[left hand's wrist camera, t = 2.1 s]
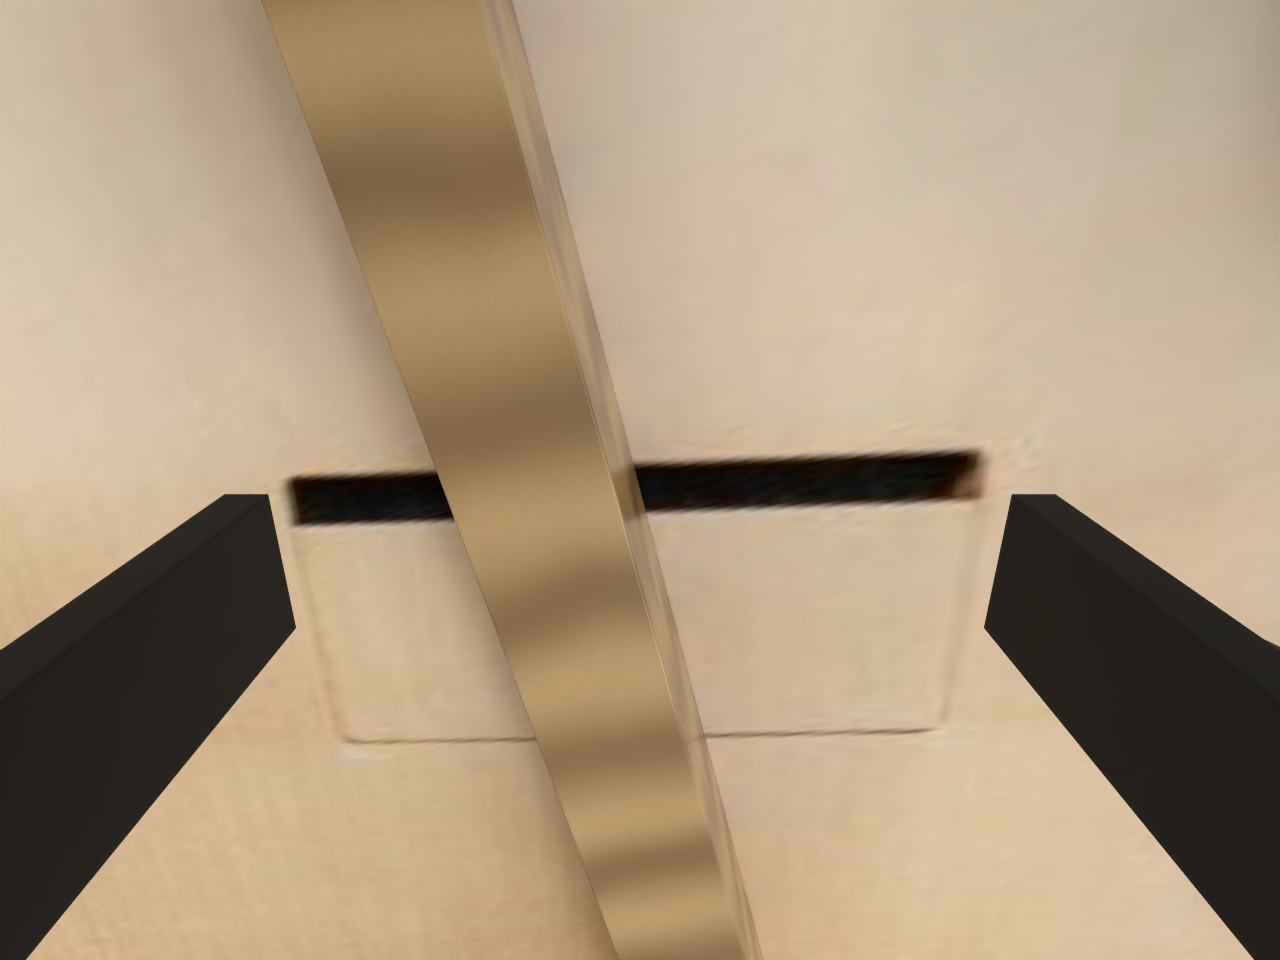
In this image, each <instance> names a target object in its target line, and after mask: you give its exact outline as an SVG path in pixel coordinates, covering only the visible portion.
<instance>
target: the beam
mask: <svg viewBox="0 0 1280 960" xmlns="http://www.w3.org/2000/svg"><path fill="white" fill-rule="evenodd" d="M261 1H262V4H263V7H264V9H265V12H266V15H267V17H268V20H269V23H270V25H271V28H272V31H273V33H274V36H275V39H276V41H277V44H278V47H279V49H280V52H281V55H282V58H283V60H284V63H285V66H286V68H287V71H288V74H289V76H290V79H291V82H292V84H293V87H294V90H295V92H296V95H297V98H298V100H299V103H300V106H301V108H302V111H303V114H304V117H305V119H306V122H307V125H308V127H309V130H310V133H311V135H312V138H313V141H314V143H315V146H316V149H317V151H318V154H319V157H320V159H321V162H322V165H323V168H324V170H325V173H326V176H327V178H328V181H329V184H330V186H331V189H332V192H333V194H334V197H335V200H336V202H337V205H338V208H339V210H340V213H341V216H342V218H343V221H344V224H345V227H346V229H347V232H348V235H349V237H350V240H351V243H352V245H353V248H354V251H355V253H356V256H357V259H358V261H359V264H360V267H361V269H362V272H363V275H364V277H365V280H366V283H367V286H368V288H369V291H370V294H371V296H372V299H373V302H374V304H375V307H376V310H377V312H378V315H379V318H380V320H381V323H382V326H383V328H384V331H385V334H386V336H387V339H388V342H389V345H390V347H391V350H392V353H393V355H394V358H395V361H396V363H397V366H398V369H399V371H400V374H401V377H402V379H403V382H404V385H405V387H406V390H407V393H408V396H409V398H410V401H411V404H412V406H413V409H414V412H415V414H416V417H417V420H418V422H419V425H420V428H421V430H422V433H423V436H424V438H425V441H426V444H427V446H428V449H429V452H430V455H431V457H432V460H433V463H434V465H435V468H436V471H437V473H438V476H439V479H440V481H441V484H442V487H443V489H444V492H445V495H446V497H447V500H448V503H449V505H450V508H451V511H452V514H453V516H454V519H455V522H456V524H457V527H458V530H459V532H460V535H461V538H462V540H463V543H464V546H465V548H466V551H467V554H468V556H469V559H470V562H471V565H472V567H473V570H474V573H475V575H476V578H477V581H478V583H479V586H480V589H481V591H482V594H483V597H484V599H485V602H486V605H487V607H488V610H489V613H490V615H491V618H492V621H493V624H494V626H495V629H496V632H497V634H498V637H499V640H500V642H501V645H502V648H503V650H504V653H505V656H506V658H507V661H508V664H509V666H510V669H511V672H512V674H513V677H514V680H515V683H516V685H517V688H518V691H519V693H520V696H521V699H522V701H523V704H524V707H525V709H526V712H527V715H528V717H529V720H530V723H531V725H532V728H533V731H534V733H535V736H536V739H537V742H538V744H539V747H540V750H541V752H542V755H543V758H544V760H545V763H546V766H547V768H548V771H549V774H550V776H551V779H552V782H553V784H554V787H555V790H556V793H557V795H558V798H559V801H560V803H561V806H562V809H563V811H564V814H565V817H566V819H567V822H568V825H569V827H570V830H571V833H572V835H573V838H574V841H575V843H576V846H577V849H578V852H579V854H580V857H581V860H582V862H583V865H584V868H585V870H586V873H587V876H588V878H589V881H590V884H591V886H592V889H593V892H594V894H595V897H596V900H597V902H598V905H599V908H600V911H601V913H602V916H603V919H604V921H605V924H606V927H607V929H608V932H609V935H610V937H611V940H612V943H613V945H614V948H615V951H616V953H617V956H618V959H619V960H763V957H762V953H761V949H760V945H759V941H758V937H757V934H756V930H755V926H754V922H753V918H752V915H751V911H750V907H749V903H748V899H747V896H746V892H745V888H744V884H743V880H742V876H741V873H740V869H739V865H738V861H737V857H736V854H735V850H734V846H733V842H732V838H731V835H730V831H729V827H728V823H727V819H726V816H725V812H724V808H723V804H722V800H721V796H720V793H719V789H718V785H717V781H716V777H715V774H714V770H713V766H712V762H711V758H710V755H709V751H708V747H707V743H706V739H705V735H704V732H703V728H702V724H701V720H700V716H699V713H698V709H697V705H696V701H695V697H694V694H693V690H692V686H691V682H690V678H689V675H688V671H687V667H686V663H685V659H684V655H683V652H682V648H681V644H680V640H679V636H678V633H677V629H676V625H675V621H674V617H673V614H672V610H671V606H670V602H669V598H668V594H667V591H666V587H665V583H664V579H663V575H662V572H661V568H660V564H659V560H658V556H657V553H656V549H655V545H654V541H653V537H652V533H651V530H650V526H649V522H648V518H647V514H646V511H645V507H644V503H643V499H642V495H641V492H640V488H639V484H638V480H637V476H636V473H635V469H634V465H633V461H632V457H631V453H630V450H629V446H628V442H627V438H626V434H625V431H624V427H623V423H622V419H621V415H620V412H619V408H618V404H617V400H616V396H615V392H614V389H613V385H612V381H611V377H610V373H609V370H608V366H607V362H606V358H605V354H604V351H603V347H602V343H601V339H600V335H599V332H598V328H597V324H596V320H595V316H594V312H593V309H592V305H591V301H590V297H589V293H588V290H587V286H586V282H585V278H584V274H583V271H582V267H581V263H580V259H579V255H578V251H577V248H576V244H575V240H574V236H573V232H572V229H571V225H570V221H569V217H568V213H567V210H566V206H565V202H564V198H563V194H562V191H561V187H560V183H559V179H558V175H557V171H556V168H555V164H554V160H553V156H552V152H551V149H550V145H549V141H548V137H547V133H546V130H545V126H544V122H543V118H542V114H541V110H540V107H539V103H538V99H537V95H536V91H535V88H534V84H533V80H532V76H531V72H530V69H529V65H528V61H527V57H526V53H525V49H524V46H523V42H522V38H521V34H520V30H519V27H518V23H517V19H516V15H515V11H514V8H513V4H512V0H261Z"/></svg>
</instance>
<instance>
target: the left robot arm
mask: <svg viewBox="0 0 1280 960" xmlns="http://www.w3.org/2000/svg"><path fill="white" fill-rule="evenodd" d="M295 628H296V625H295V621H294V616H293V611H292V606H291V602H290V597H289V592H288V587H287V582H286V578H285V573H284V568H283V563H282V559H281V554H280V549H279V544H278V540H277V535H276V530H275V525H274V520H273V516H272V511H271V506H270V501H269V497H268V494H224V495H223V496H222V497H220V498H219V499H217V500H216V501H214V502H213V503H211V504H210V505H209V506H207V507H206V508H204V509H203V510H201V511H200V512H199V513H197V514H196V515H194V516H193V517H191V518H190V519H188V520H187V521H186V522H184V523H183V524H181V525H180V526H178V527H177V528H176V529H174V530H173V531H171V532H170V533H168V534H167V535H165V536H164V537H163V538H161V539H160V540H158V541H157V542H155V543H154V544H153V545H151V546H150V547H148V548H147V549H145V550H144V551H142V552H141V553H140V554H138V555H137V556H135V557H134V558H132V559H131V560H130V561H128V562H127V563H125V564H124V565H122V566H121V567H119V568H118V569H117V570H115V571H114V572H112V573H111V574H109V575H108V576H107V577H105V578H104V579H102V580H101V581H99V582H98V583H96V584H95V585H94V586H92V587H91V588H89V589H88V590H86V591H85V592H84V593H82V594H81V595H79V596H78V597H76V598H75V599H74V600H72V601H71V602H69V603H68V604H66V605H65V606H63V607H62V608H61V609H59V610H58V611H56V612H55V613H53V614H52V615H51V616H49V617H48V618H46V619H45V620H43V621H42V622H40V623H39V624H38V625H36V626H35V627H33V628H32V629H30V630H29V631H28V632H26V633H25V634H23V635H22V636H20V637H19V638H17V639H16V640H15V641H13V642H12V643H10V644H9V645H7V646H6V647H5V648H3V649H1V650H0V960H26V959H27V958H28V956H29V955H30V954H31V953H32V951H33V950H34V949H35V948H36V947H37V945H38V944H39V943H40V942H41V940H42V939H43V938H44V937H45V936H46V934H47V933H48V932H49V931H50V929H51V928H52V927H53V926H54V924H55V923H56V922H57V921H58V920H59V918H60V917H61V916H62V915H63V913H64V912H65V911H66V910H67V909H68V907H69V906H70V905H71V904H72V902H73V901H74V900H75V899H76V897H77V896H78V895H79V894H80V893H81V891H82V890H83V889H84V888H85V886H86V885H87V884H88V883H89V881H90V880H91V879H92V878H93V877H94V875H95V874H96V873H97V872H98V870H99V869H100V868H101V867H102V866H103V864H104V863H105V862H106V861H107V859H108V858H109V857H110V856H111V854H112V853H113V852H114V851H115V850H116V848H117V847H118V846H119V845H120V843H121V842H122V841H123V840H124V838H125V837H126V836H127V835H128V834H129V832H130V831H131V830H132V829H133V827H134V826H135V825H136V824H137V823H138V821H139V820H140V819H141V818H142V816H143V815H144V814H145V813H146V811H147V810H148V809H149V808H150V807H151V805H152V804H153V803H154V802H155V800H156V799H157V798H158V797H159V795H160V794H161V793H162V792H163V791H164V789H165V788H166V787H167V786H168V784H169V783H170V782H171V781H172V780H173V778H174V777H175V776H176V775H177V773H178V772H179V771H180V770H181V768H182V767H183V766H184V765H185V764H186V762H187V761H188V760H189V759H190V757H191V756H192V755H193V754H194V753H195V751H196V750H197V749H198V748H199V746H200V745H201V744H202V743H203V741H204V740H205V739H206V738H207V737H208V735H209V734H210V733H211V732H212V730H213V729H214V728H215V727H216V725H217V724H218V723H219V722H220V721H221V719H222V718H223V717H224V716H225V714H226V713H227V712H228V711H229V710H230V708H231V707H232V706H233V705H234V703H235V702H236V701H237V700H238V698H239V697H240V696H241V695H242V694H243V692H244V691H245V690H246V689H247V687H248V686H249V685H250V684H251V682H252V681H253V680H254V679H255V678H256V676H257V675H258V674H259V673H260V671H261V670H262V669H263V668H264V667H265V665H266V664H267V663H268V662H269V660H270V659H271V658H272V657H273V655H274V654H275V653H276V652H277V651H278V649H279V648H280V647H281V646H282V644H283V643H284V642H285V641H286V639H287V638H288V637H289V636H290V635H291V633H292V632H293V631H294V630H295ZM984 628H985V630H986V631H987V632H988V633H989V635H990V636H991V637H992V638H993V639H994V641H995V642H996V643H997V644H998V646H999V647H1000V648H1001V649H1002V651H1003V652H1004V653H1005V654H1006V655H1007V657H1008V658H1009V659H1010V660H1011V662H1012V663H1013V664H1014V665H1015V667H1016V668H1017V669H1018V670H1019V671H1020V673H1021V674H1022V675H1023V676H1024V678H1025V679H1026V680H1027V681H1028V682H1029V684H1030V685H1031V686H1032V687H1033V689H1034V690H1035V691H1036V692H1037V694H1038V695H1039V696H1040V697H1041V698H1042V700H1043V701H1044V702H1045V703H1046V705H1047V706H1048V707H1049V708H1050V710H1051V711H1052V712H1053V713H1054V714H1055V716H1056V717H1057V718H1058V719H1059V721H1060V722H1061V723H1062V724H1063V725H1064V727H1065V728H1066V729H1067V730H1068V732H1069V733H1070V734H1071V735H1072V737H1073V738H1074V739H1075V740H1076V741H1077V743H1078V744H1079V745H1080V746H1081V748H1082V749H1083V750H1084V751H1085V753H1086V754H1087V755H1088V756H1089V757H1090V759H1091V760H1092V761H1093V762H1094V764H1095V765H1096V766H1097V767H1098V768H1099V770H1100V771H1101V772H1102V773H1103V775H1104V776H1105V777H1106V778H1107V780H1108V781H1109V782H1110V783H1111V784H1112V786H1113V787H1114V788H1115V789H1116V791H1117V792H1118V793H1119V794H1120V795H1121V797H1122V798H1123V799H1124V800H1125V802H1126V803H1127V804H1128V805H1129V807H1130V808H1131V809H1132V810H1133V811H1134V813H1135V814H1136V815H1137V816H1138V818H1139V819H1140V820H1141V821H1142V823H1143V824H1144V825H1145V826H1146V827H1147V829H1148V830H1149V831H1150V832H1151V834H1152V835H1153V836H1154V837H1155V838H1156V840H1157V841H1158V842H1159V843H1160V845H1161V846H1162V847H1163V848H1164V850H1165V851H1166V852H1167V853H1168V854H1169V856H1170V857H1171V858H1172V859H1173V861H1174V862H1175V863H1176V864H1177V866H1178V867H1179V868H1180V869H1181V870H1182V872H1183V873H1184V874H1185V875H1186V877H1187V878H1188V879H1189V880H1190V881H1191V883H1192V884H1193V885H1194V886H1195V888H1196V889H1197V890H1198V891H1199V893H1200V894H1201V895H1202V896H1203V897H1204V899H1205V900H1206V901H1207V902H1208V904H1209V905H1210V906H1211V907H1212V909H1213V910H1214V911H1215V912H1216V913H1217V915H1218V916H1219V917H1220V918H1221V920H1222V921H1223V922H1224V923H1225V924H1226V926H1227V927H1228V928H1229V929H1230V931H1231V932H1232V933H1233V934H1234V936H1235V937H1236V938H1237V939H1238V940H1239V942H1240V943H1241V944H1242V945H1243V947H1244V948H1245V949H1246V950H1247V951H1248V953H1249V954H1250V955H1251V956H1252V958H1253V959H1254V960H1280V647H1279V646H1277V645H1275V644H1273V643H1271V642H1269V641H1266V640H1264V639H1263V638H1261V637H1260V636H1258V635H1257V634H1255V633H1254V632H1252V631H1251V630H1250V629H1248V628H1247V627H1245V626H1244V625H1242V624H1241V623H1240V622H1238V621H1237V620H1235V619H1234V618H1232V617H1231V616H1229V615H1228V614H1227V613H1225V612H1224V611H1222V610H1221V609H1219V608H1218V607H1217V606H1215V605H1214V604H1212V603H1211V602H1209V601H1208V600H1206V599H1205V598H1204V597H1202V596H1201V595H1199V594H1198V593H1196V592H1195V591H1194V590H1192V589H1191V588H1189V587H1188V586H1186V585H1185V584H1184V583H1182V582H1181V581H1179V580H1178V579H1176V578H1175V577H1173V576H1172V575H1171V574H1169V573H1168V572H1166V571H1165V570H1163V569H1162V568H1161V567H1159V566H1158V565H1156V564H1155V563H1153V562H1152V561H1150V560H1149V559H1148V558H1146V557H1145V556H1143V555H1142V554H1140V553H1139V552H1138V551H1136V550H1135V549H1133V548H1132V547H1130V546H1129V545H1127V544H1126V543H1125V542H1123V541H1122V540H1120V539H1119V538H1117V537H1116V536H1115V535H1113V534H1112V533H1110V532H1109V531H1107V530H1106V529H1104V528H1103V527H1102V526H1100V525H1099V524H1097V523H1096V522H1094V521H1093V520H1092V519H1090V518H1089V517H1087V516H1086V515H1084V514H1083V513H1081V512H1080V511H1079V510H1077V509H1076V508H1074V507H1073V506H1071V505H1070V504H1069V503H1067V502H1066V501H1064V500H1063V499H1061V498H1060V497H1058V496H1057V495H1056V494H1012V497H1011V501H1010V506H1009V511H1008V516H1007V520H1006V525H1005V530H1004V535H1003V540H1002V544H1001V549H1000V554H999V559H998V563H997V568H996V573H995V578H994V582H993V587H992V592H991V597H990V602H989V606H988V611H987V616H986V621H985V625H984Z"/></svg>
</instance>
